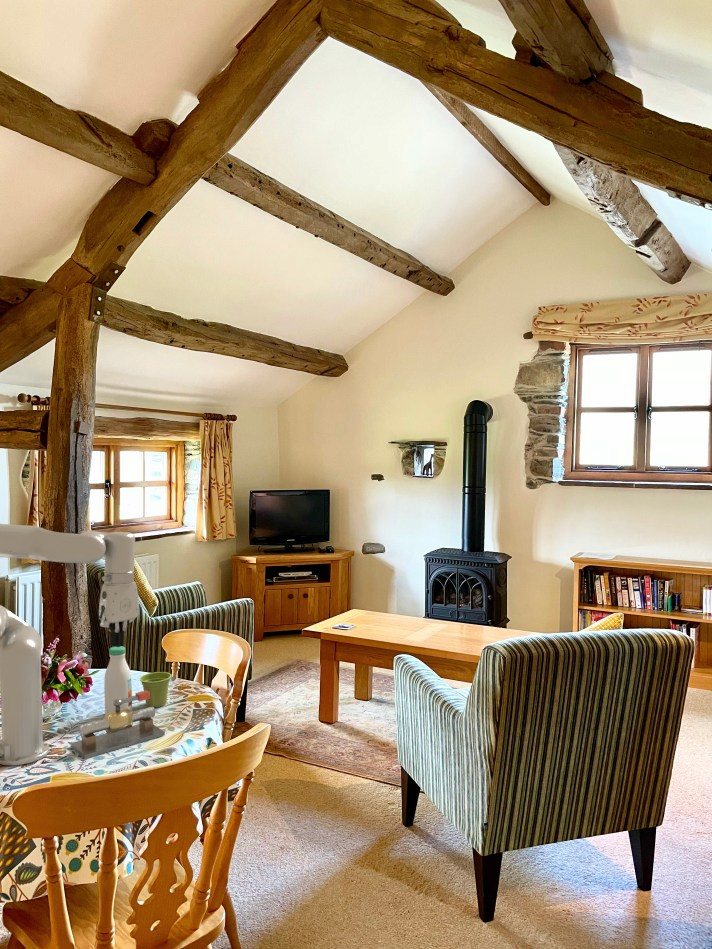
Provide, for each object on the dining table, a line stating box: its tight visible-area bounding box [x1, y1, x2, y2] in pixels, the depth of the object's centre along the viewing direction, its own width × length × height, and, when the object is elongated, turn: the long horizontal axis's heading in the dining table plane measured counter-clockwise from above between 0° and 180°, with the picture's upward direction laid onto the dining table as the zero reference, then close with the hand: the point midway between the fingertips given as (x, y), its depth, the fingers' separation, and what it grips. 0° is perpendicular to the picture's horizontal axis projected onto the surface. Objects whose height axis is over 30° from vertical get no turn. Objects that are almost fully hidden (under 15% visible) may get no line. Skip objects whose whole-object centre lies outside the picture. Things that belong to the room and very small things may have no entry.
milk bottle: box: [103, 645, 133, 715], centre depth 210 cm, size 8×8×20 cm
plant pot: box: [139, 671, 172, 708], centre depth 218 cm, size 9×9×9 cm
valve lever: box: [113, 690, 150, 706], centre depth 193 cm, size 10×2×2 cm, turn 135°
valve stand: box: [70, 706, 166, 760], centre depth 190 cm, size 22×10×10 cm, turn 131°
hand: (117, 645), depth 190 cm, fingers closed
